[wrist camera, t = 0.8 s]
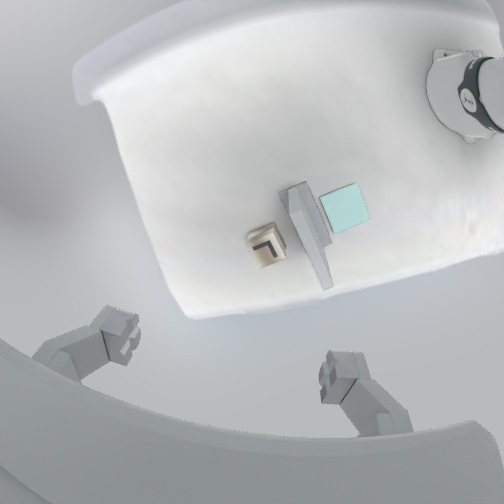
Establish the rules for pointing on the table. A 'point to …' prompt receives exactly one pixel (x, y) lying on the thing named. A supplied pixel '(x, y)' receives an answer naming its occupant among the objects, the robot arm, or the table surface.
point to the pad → (345, 207)
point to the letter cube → (266, 245)
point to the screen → (309, 228)
